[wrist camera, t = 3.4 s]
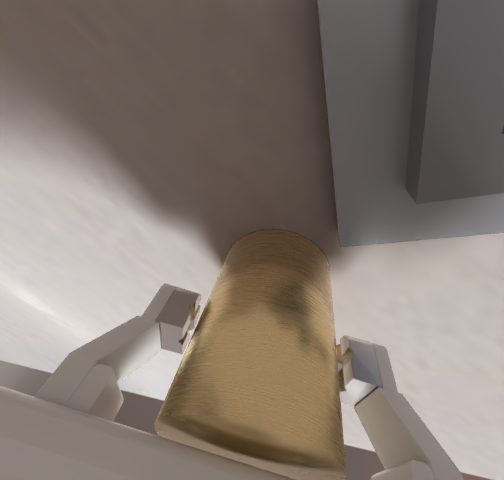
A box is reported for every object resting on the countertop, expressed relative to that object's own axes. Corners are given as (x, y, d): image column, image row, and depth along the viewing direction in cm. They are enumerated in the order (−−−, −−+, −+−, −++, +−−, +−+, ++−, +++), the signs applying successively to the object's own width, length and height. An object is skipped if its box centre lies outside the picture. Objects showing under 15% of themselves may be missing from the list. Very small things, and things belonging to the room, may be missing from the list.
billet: (242, 307, 14) (197, 468, 9) (212, 236, 11) (117, 402, 6) (334, 305, 13) (351, 500, 7) (324, 222, 10) (337, 431, 4)
